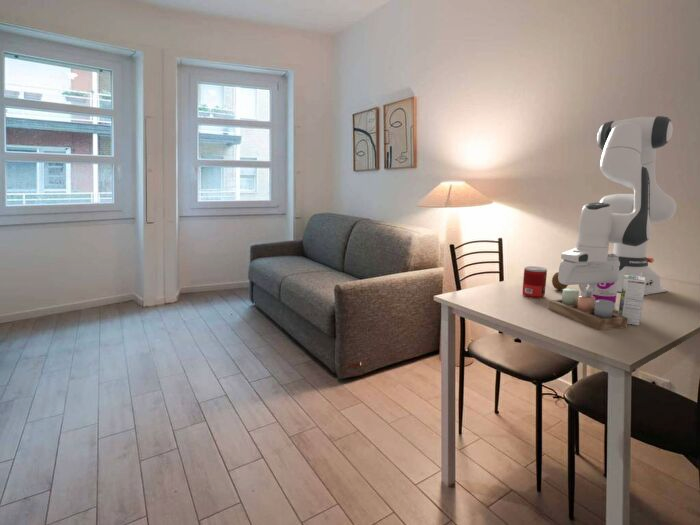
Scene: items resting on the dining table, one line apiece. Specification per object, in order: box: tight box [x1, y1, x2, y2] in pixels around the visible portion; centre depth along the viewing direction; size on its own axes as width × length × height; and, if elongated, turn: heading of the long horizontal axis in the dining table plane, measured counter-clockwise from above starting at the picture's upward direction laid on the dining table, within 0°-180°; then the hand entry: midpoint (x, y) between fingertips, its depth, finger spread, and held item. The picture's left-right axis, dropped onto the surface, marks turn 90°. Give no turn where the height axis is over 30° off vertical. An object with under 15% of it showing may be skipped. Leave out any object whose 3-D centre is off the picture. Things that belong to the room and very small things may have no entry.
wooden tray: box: [547, 298, 628, 331], centre depth 132 cm, size 10×22×3 cm, turn 12°
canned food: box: [522, 265, 548, 299], centre depth 157 cm, size 8×8×11 cm
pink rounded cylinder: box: [577, 294, 595, 312], centre depth 131 cm, size 5×5×5 cm
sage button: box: [561, 288, 580, 306], centre depth 138 cm, size 5×5×5 cm
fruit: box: [551, 271, 569, 291], centre depth 166 cm, size 6×6×8 cm
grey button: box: [594, 299, 614, 319], centre depth 125 cm, size 5×5×5 cm
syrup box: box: [617, 275, 646, 326], centre depth 126 cm, size 6×6×14 cm
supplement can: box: [588, 281, 618, 310], centre depth 140 cm, size 8×8×15 cm
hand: (586, 296), depth 131 cm, fingers closed, pressing on pink rounded cylinder
